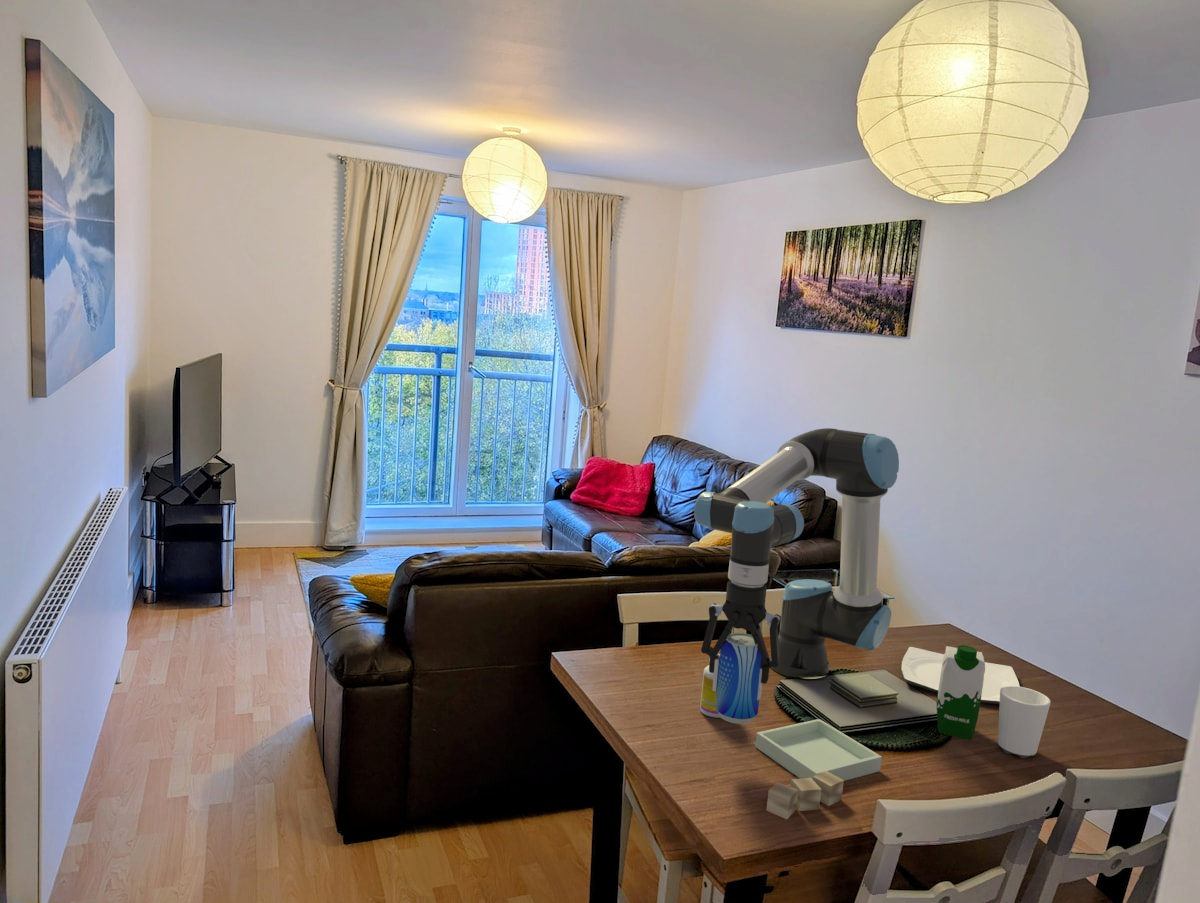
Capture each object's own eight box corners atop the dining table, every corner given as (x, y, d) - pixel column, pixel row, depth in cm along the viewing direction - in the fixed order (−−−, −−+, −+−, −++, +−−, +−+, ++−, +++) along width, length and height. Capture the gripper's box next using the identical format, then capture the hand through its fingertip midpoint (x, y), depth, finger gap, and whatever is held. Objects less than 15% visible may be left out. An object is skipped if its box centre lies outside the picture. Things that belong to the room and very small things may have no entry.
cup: (1039, 767, 181) (1048, 709, 179) (988, 752, 186) (997, 696, 184) (1043, 749, 189) (1052, 694, 187) (995, 735, 194) (1003, 681, 192)
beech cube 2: (808, 797, 162) (810, 777, 161) (819, 809, 158) (821, 789, 157) (789, 799, 161) (791, 779, 160) (799, 811, 157) (801, 790, 156)
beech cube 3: (775, 802, 159) (777, 782, 159) (795, 810, 157) (798, 789, 156) (766, 811, 156) (768, 790, 155) (787, 819, 154) (789, 798, 153)
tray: (817, 732, 189) (819, 718, 188) (879, 771, 174) (881, 756, 173) (754, 746, 180) (756, 732, 179) (814, 788, 165) (816, 773, 164)
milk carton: (934, 734, 192) (946, 648, 189) (932, 717, 201) (944, 635, 198) (976, 743, 189) (989, 656, 186) (973, 726, 198) (986, 642, 195)
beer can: (710, 705, 176) (717, 630, 173) (751, 706, 176) (758, 631, 174) (719, 725, 167) (727, 647, 165) (762, 726, 168) (770, 648, 165)
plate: (897, 689, 216) (898, 679, 216) (903, 653, 243) (904, 643, 242) (1023, 717, 206) (1024, 706, 206) (1015, 675, 232) (1016, 666, 232)
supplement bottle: (728, 721, 191) (734, 665, 189) (698, 716, 192) (703, 661, 190) (730, 708, 197) (735, 654, 195) (701, 703, 198) (706, 650, 197)
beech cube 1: (823, 790, 165) (825, 770, 164) (841, 800, 162) (843, 780, 161) (810, 796, 162) (813, 776, 162) (828, 806, 159) (830, 786, 159)
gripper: (690, 578, 167) (681, 689, 171) (798, 596, 160) (786, 711, 164) (699, 568, 174) (690, 675, 178) (803, 585, 167) (792, 696, 171)
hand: (736, 692), depth 171 cm, fingers closed on beer can, 8 cm apart
